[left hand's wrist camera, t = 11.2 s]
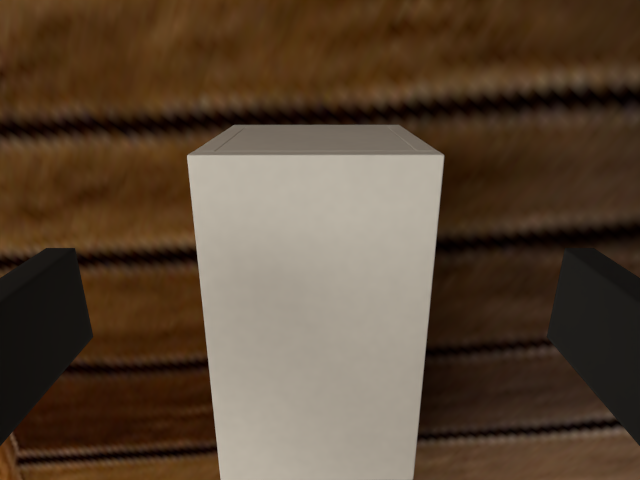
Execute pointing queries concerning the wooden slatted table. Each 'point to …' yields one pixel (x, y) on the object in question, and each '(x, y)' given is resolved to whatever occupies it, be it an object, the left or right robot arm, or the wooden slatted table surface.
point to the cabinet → (316, 296)
